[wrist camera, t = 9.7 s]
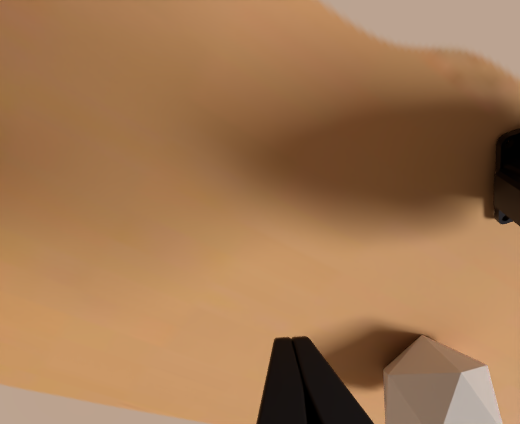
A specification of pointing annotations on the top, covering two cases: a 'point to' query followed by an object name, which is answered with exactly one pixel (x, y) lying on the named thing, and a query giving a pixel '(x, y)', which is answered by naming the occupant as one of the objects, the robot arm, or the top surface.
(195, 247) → the top surface
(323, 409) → the robot arm
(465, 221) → the top surface
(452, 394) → the die
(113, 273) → the top surface
